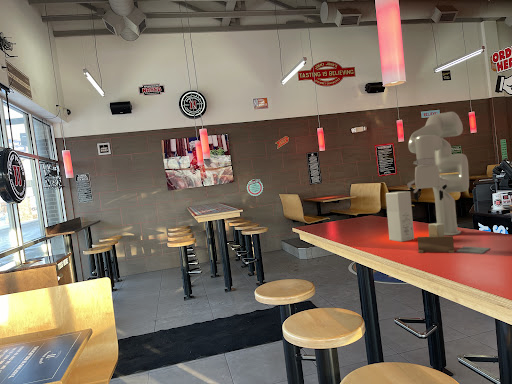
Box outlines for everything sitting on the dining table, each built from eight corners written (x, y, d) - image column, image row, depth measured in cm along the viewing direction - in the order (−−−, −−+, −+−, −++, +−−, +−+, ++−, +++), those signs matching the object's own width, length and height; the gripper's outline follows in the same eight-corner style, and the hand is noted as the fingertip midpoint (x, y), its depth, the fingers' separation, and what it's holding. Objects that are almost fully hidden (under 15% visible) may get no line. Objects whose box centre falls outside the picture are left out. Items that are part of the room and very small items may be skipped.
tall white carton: (401, 237, 204) (397, 191, 203) (414, 239, 196) (410, 191, 195) (389, 240, 201) (385, 193, 200) (401, 241, 193) (397, 193, 192)
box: (429, 248, 172) (427, 224, 172) (436, 246, 174) (434, 222, 174) (439, 249, 167) (437, 224, 167) (446, 248, 169) (444, 223, 169)
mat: (464, 247, 167) (464, 246, 167) (489, 248, 160) (489, 248, 160) (456, 251, 160) (456, 251, 160) (482, 253, 153) (482, 252, 153)
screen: (418, 250, 170) (417, 236, 169) (453, 250, 164) (452, 235, 164) (418, 252, 165) (417, 238, 165) (454, 252, 159) (453, 237, 159)
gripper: (405, 164, 169) (408, 202, 170) (448, 160, 163) (451, 200, 163) (405, 164, 176) (408, 201, 177) (446, 161, 169) (449, 198, 170)
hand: (429, 200), depth 170 cm, fingers open, 9 cm apart
